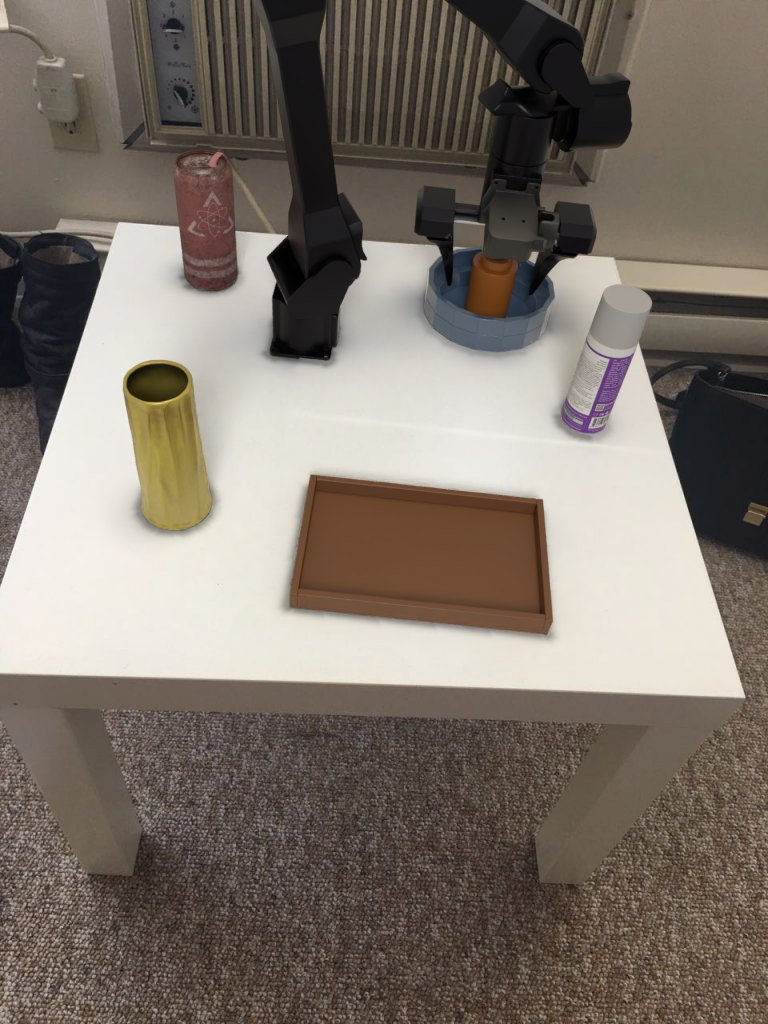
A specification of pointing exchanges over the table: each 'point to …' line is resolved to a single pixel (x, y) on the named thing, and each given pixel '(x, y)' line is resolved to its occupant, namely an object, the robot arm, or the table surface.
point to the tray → (423, 555)
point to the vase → (167, 444)
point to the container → (605, 358)
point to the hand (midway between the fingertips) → (489, 288)
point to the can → (206, 219)
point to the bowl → (483, 331)
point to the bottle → (490, 286)
